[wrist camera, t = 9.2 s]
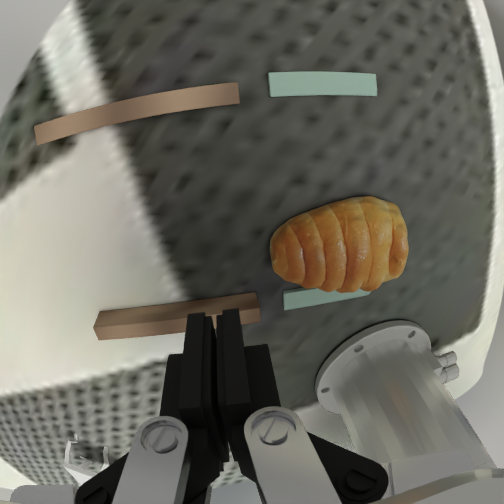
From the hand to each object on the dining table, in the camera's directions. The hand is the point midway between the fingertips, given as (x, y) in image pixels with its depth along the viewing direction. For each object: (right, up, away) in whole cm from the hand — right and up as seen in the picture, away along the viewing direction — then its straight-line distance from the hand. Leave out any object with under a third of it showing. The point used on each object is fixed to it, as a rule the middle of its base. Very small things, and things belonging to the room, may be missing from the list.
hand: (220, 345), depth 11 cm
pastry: (+7, +4, +13) cm, 15 cm away
